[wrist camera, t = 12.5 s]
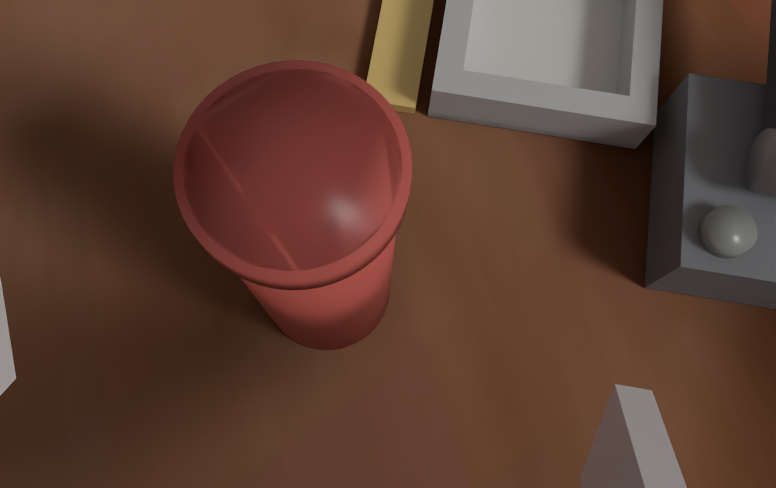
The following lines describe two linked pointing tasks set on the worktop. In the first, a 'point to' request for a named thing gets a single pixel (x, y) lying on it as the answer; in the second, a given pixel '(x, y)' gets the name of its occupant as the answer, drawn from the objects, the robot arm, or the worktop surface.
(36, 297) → the worktop surface
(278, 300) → the cap
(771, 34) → the breaker lever
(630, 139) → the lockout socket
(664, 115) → the box
